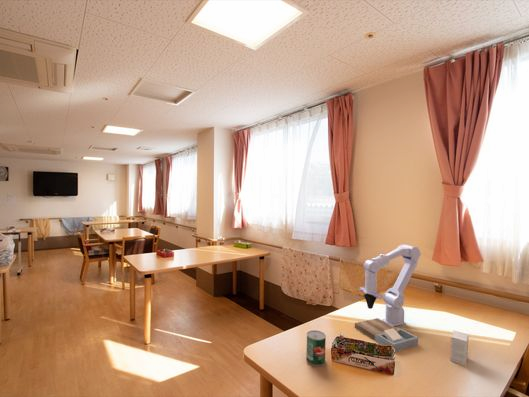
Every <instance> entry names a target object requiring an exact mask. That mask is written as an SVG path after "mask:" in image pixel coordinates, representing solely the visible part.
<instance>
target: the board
mask: <svg viewBox="0 0 529 397" xmlns="http://www.w3.org/2000/svg"><path fill="white" fill-rule="evenodd" d="M392 328H394V329H395V330H399V329H400V328H399V329H398V328H397V327H396V326H391V325H389V324H388V323H386V322H384V321H382V319H380V318H373V319H368V320H362V321H358V322H354V329H356V330H358V331H359V332H361V333H362V334H364V335H365V336H367V338H371V340H373V341H375V335H377V334H383V332H384V330H388V329H392Z"/></svg>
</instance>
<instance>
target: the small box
mask: <svg viewBox="0 0 529 397" xmlns="http://www.w3.org/2000/svg"><path fill="white" fill-rule="evenodd" d="M450 342H451V343H450V344H451V345H450V362H453V363H456V364H459V365H462V366H465V367H466V366H467V363H468V357H469V356H468V355H469V333H464V332H461V331H457V330H453V332H452V334H451V341H450Z"/></svg>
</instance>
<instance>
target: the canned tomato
mask: <svg viewBox="0 0 529 397" xmlns="http://www.w3.org/2000/svg"><path fill="white" fill-rule="evenodd" d="M326 338H327V336H326V334H325V333H324V332H323V331H320V330H309V331H308V332H307V333H306V353H305V354H306V358H305V360H306V363H307V364H309V365H312V366H313V367H314V366H315V367H321V366H324V365H325V363H326Z"/></svg>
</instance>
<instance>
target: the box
mask: <svg viewBox="0 0 529 397" xmlns="http://www.w3.org/2000/svg"><path fill="white" fill-rule="evenodd" d="M395 331H396V332H397V333H398V334H399V335H400V336H401V337H402V341H399V342H395V343H393V342H391V341H389V340H388V339H387V337H386V336H385V335H384V334H377V335H375V340H374V341H375V342H377V343H378V344H379V345H381V344H382V345H381V346H383V345H392V346H393V348H394V349H395V352H394V353H396V352H400V351H403V350H406V349H410V348H413V347H417V346H419V337H418V336H416V335H414V334H412V333H410V332H408V331H406V330H404V329H402V328H399V330H395Z"/></svg>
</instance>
